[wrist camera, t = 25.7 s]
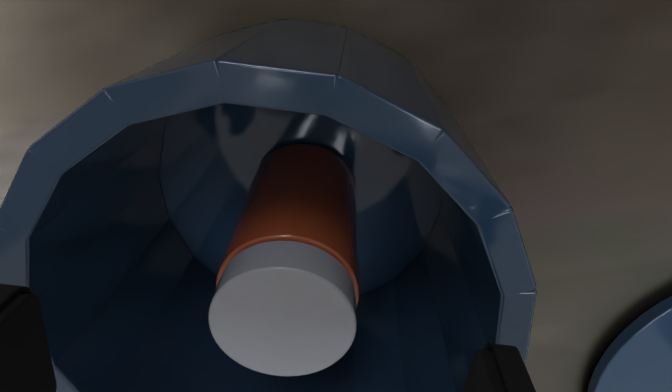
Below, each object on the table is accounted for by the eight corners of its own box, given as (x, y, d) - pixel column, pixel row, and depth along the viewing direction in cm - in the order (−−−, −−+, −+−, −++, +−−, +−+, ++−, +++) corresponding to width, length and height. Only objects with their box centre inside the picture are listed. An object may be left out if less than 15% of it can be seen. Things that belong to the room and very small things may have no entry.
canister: (130, -3, 16) (-79, 22, 8) (500, 44, 16) (627, 110, 8) (152, 293, 21) (38, 471, 14) (427, 326, 22) (465, 520, 14)
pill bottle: (259, 133, 17) (209, 251, 11) (366, 154, 17) (378, 281, 11) (247, 223, 19) (198, 367, 13) (343, 241, 19) (342, 390, 13)
